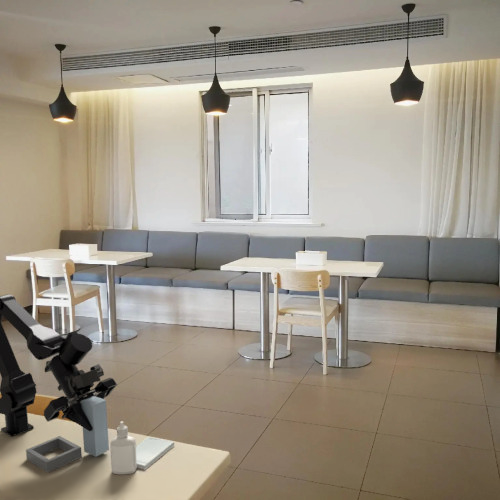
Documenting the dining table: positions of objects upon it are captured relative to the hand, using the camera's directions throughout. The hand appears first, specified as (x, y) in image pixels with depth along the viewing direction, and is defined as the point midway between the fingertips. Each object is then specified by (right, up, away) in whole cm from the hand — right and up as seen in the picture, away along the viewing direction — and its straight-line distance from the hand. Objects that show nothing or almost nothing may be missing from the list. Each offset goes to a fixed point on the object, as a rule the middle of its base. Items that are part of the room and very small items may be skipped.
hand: (98, 426), depth 128 cm
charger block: (-1, -7, +2) cm, 7 cm away
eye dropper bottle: (+8, -8, -6) cm, 13 cm away
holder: (-11, -8, 0) cm, 14 cm away
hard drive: (+12, -8, +1) cm, 14 cm away
